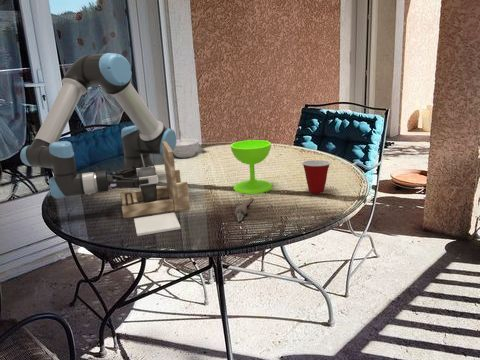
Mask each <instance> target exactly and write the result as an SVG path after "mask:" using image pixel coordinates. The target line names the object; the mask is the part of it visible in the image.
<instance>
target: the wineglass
mask: <svg viewBox="0 0 480 360" xmlns="http://www.w3.org/2000/svg"><path fill="white" fill-rule="evenodd" d="M271 145H272V143H271V142H270V141H269V140H263V139H248V140H242V141H241V140H240V141H236V142H233V143H231V144H230V149H231V152H232V155H233V156H234V157H235V159H236V160H237V161H239V162H241V163H242V164H245V165H249V177H250V179H248V180H244V181H241V182H237V184H235V185H234V186H233V191H234V190H235V191H234V192H236V193H238V192H239V194H242V193H245V194H246V195H257V194H262V193H267V192H269V191H271V190H272V189H273V188H274V186H273V184H272V183H270V182H269V181H267V180H263V179H256V172H255V171H256V170H255V165H257V164H259V163H261V162H263V161H265V159H266V158H267V157H268V155H269V153H270V151H271V148H272V147H271ZM245 194H244V195H245Z"/></svg>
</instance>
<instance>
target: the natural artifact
mask: <svg viewBox="0 0 480 360" xmlns="http://www.w3.org/2000/svg"><path fill="white" fill-rule="evenodd" d="M253 201H254V197H250V198H249V199H248V200H246V201H244V202H243V203H242V204H239V205H237V206H236V208H235V212H234V213H235V217H236V219H237V222H238V223H239V222H242V220H243V219H244V218H246V217H245V216H246V214H247V212H248V206H250V204H251V203H252V202H253Z"/></svg>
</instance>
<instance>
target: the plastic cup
mask: <svg viewBox="0 0 480 360" xmlns="http://www.w3.org/2000/svg"><path fill="white" fill-rule="evenodd" d="M331 163H332V162H331V161H329V160H325V159H323V160H322V159H308V160H304V161H302V162H301V164H302V167H303V169H304V175H305V179H306V184H307V188H308V192H309V193H310V194H315V195H319V194H323V193H324V192H325V188H326V182H327V178H328V171H329V169H330V165H331Z"/></svg>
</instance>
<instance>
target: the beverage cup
mask: <svg viewBox="0 0 480 360" xmlns="http://www.w3.org/2000/svg"><path fill="white" fill-rule="evenodd" d="M141 158H142V162H143V167H141V168H140V169H139V171H138V175H137V176H138V177H137V178H136V179H139V178H141V177H148V176H156V175H157V172H156V169H155V170H154V168H152V167H151V166H145V165H144V161H143V156H142V154H141ZM157 176H158V175H157ZM157 188H158V187H157V183H155V184H148V185H141V186H140V188H139V189H140V190H141V192H142V197H143V201H142V202H143V203H147V202H154V201H158V199H157Z"/></svg>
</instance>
